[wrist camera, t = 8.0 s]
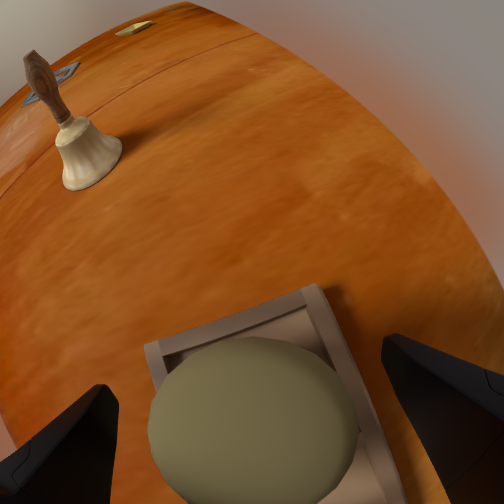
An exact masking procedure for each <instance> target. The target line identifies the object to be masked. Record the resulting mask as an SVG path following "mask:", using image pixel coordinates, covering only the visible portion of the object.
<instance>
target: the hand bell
mask: <svg viewBox="0 0 504 504" xmlns="http://www.w3.org/2000/svg"><path fill="white" fill-rule="evenodd" d="M23 61H24V65H25V73H26V78H27V82H28V84H29V86H30V88H31V89H32V91H33V92H34V93H35V95H36V96H37V97H38V98H40V99H41V100H42V101H43V102H44V103H45V104H46V105H47V106H48V107H49V109H50V111H51V113H52V114H53V116H54V118H55V119H56V122H57V123H58V124H59V126H60V128H61V130H60V132H59V133H58V135H57V137H56V141H55V142H56V146H57V148H58V150H59V152H60V154H61V156H62V159H63V163H64V170H63V183H64V185H65V187H66V188H67V189H69V190H73V191H76V190H82V189H85V188H87V187H90V186H92V185H94V184H95V183H97V182H98V181H100V180H101V179H102V178H103V177H104V176H106V175H107V174H108V173H109V172H110V171H111V170H112V169H113V168H114V166H115V165H116V163H117V162H118V160H119V158H120V156H121V153H122V143H121V141H120V140H119V139H118V138H116V137H114V136H111V135H104V134H102V133H101V132H100V131H99V130H97V128H96V127H95V126H94V125H93V124H92V122H91V121H90V120H89V119H88V118H87V117H79V118H76V119H74V117H73V116H72V114H70V111H69V110H68V108H67V107H66V105H65V104H64V102H63V100H62V99H61V97H60V95H59V91H58V85H57V81H56V78H55V75H54V72H53V70H52V68H51V67H50V65H49V64H48V62H46V60H45V59H43V58H42V57H41V56H40V55H39V54H38V53H37V52H36V51H35V50H33V51H31V52H30V53H28V54H27V55H26V56H24V58H23Z"/></svg>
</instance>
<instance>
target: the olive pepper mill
mask: <svg viewBox="0 0 504 504" xmlns="http://www.w3.org/2000/svg"><path fill="white" fill-rule="evenodd" d="M147 431H148V437H149V442H150V447H151V453H152V457H153V459H154V461H155V463H156V465H157V466H158V468H159V470H160V472H161V473H162V475H163V477H164V479H165V480H166V482H167V483H168V485H169V486H170V487H171V488H172V489H173V490H174V491H175V492H176V493H178V494H179V495H180V496H181V497H182V498H183V499H184V500H185V501H186V502H188V503H189V504H317V503H319V502H320V501H321V500H322V499H324V498H325V497H326V496H327V495H329V494H330V493H331V492H332V491H333V490H334V489H336V488H337V486H338V485H339V483H340V482H341V480H342V479H343V477H344V476H345V474H346V472H347V471H348V469H349V468H350V466H351V464H352V463H353V459H354V455H355V450H356V446H357V441H358V436H359V430H358V423H357V417H356V410H355V404H354V402H353V400H352V398H351V396H350V394H349V392H348V391H347V389H346V387H345V385H344V384H343V382H342V380H341V378H340V376H339V375H338V374H337V373H336V372H335V371H334V370H333V369H332V368H330V367H329V366H328V365H327V364H326V363H325V362H324V361H323V360H321V359H320V358H319V357H318V356H317V355H316V354H314V353H312V352H310V351H307V350H305V349H303V348H301V347H298V346H296V345H294V344H292V343H290V342H287V341H284V340H277V339H269V338H262V337H255V336H251V337H244V338H237V339H230V340H222V341H219V342H217V343H215V344H213V345H210V346H208V347H206V348H204V349H202V350H199V351H197V352H195V353H193V354H191V355H190V356H188V357H187V358H186V359H185V360H184V361H183V362H182V363H181V364H180V365H178V366H177V367H176V368H175V369H174V370H173V371H172V372H171V373H169V374H168V375H167V376H166V377H165V379H164V381H163V383H162V385H161V386H160V388H159V390H158V392H157V393H156V395H155V397H154V399H153V401H152V404H151V409H150V415H149V422H148V428H147Z"/></svg>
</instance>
